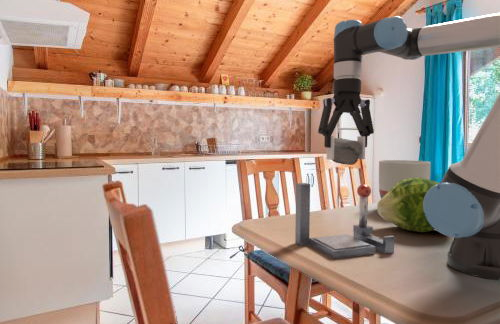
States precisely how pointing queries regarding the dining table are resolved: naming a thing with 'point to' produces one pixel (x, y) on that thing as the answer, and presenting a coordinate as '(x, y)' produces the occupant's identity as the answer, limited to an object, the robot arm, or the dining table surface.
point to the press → (340, 243)
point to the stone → (346, 151)
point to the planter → (400, 172)
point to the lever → (363, 211)
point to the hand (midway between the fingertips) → (345, 159)
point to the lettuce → (407, 204)
